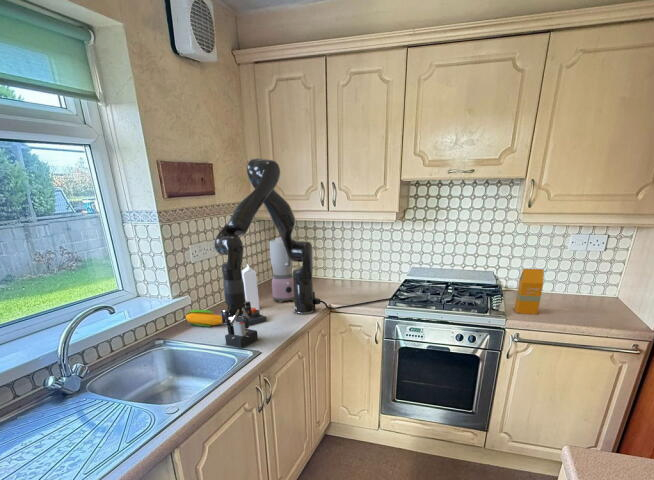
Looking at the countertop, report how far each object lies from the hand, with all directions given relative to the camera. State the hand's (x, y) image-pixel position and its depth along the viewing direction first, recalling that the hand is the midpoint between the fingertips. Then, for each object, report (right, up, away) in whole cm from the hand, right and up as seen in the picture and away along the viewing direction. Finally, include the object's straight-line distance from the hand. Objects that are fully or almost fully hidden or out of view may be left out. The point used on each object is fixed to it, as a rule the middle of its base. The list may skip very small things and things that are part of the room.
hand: (239, 331), depth 159 cm
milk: (-4, +15, +46) cm, 48 cm away
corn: (-20, +5, +24) cm, 31 cm away
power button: (-1, +11, +28) cm, 30 cm away
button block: (-1, +7, +28) cm, 29 cm away
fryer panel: (0, -4, +4) cm, 6 cm away
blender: (+11, +22, +59) cm, 64 cm away
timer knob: (0, -1, +1) cm, 2 cm away
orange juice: (+128, +13, +35) cm, 134 cm away
